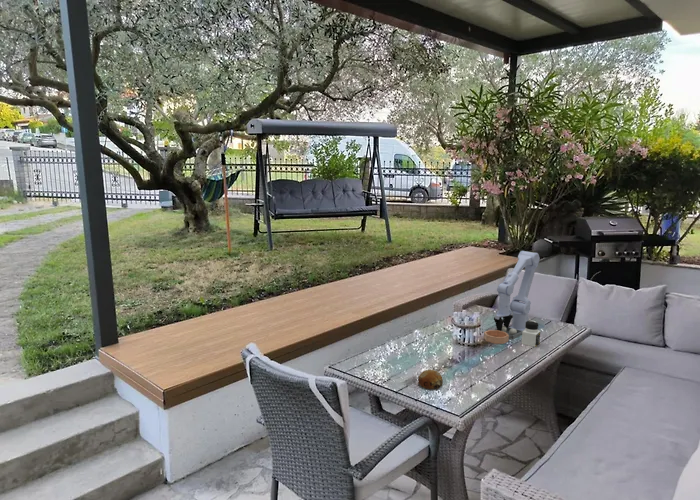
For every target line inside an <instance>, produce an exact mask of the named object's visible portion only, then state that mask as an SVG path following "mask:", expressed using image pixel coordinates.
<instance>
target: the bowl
mask: <svg viewBox="0 0 700 500" xmlns="http://www.w3.org/2000/svg"><path fill="white" fill-rule="evenodd" d="M483 340H484V341H485V342H488V343H492V344H497V345H498V344H499V345H500V344H501V345H502V344H503V345H504V344H506V343H508V342H509V340H510V339H509V335H508V334H507V333H506V332H503V331H499V330H495V329H487V330H486V331H484V332H483Z"/></svg>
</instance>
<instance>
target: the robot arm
mask: <svg viewBox="0 0 700 500" xmlns="http://www.w3.org/2000/svg"><path fill="white" fill-rule="evenodd" d="M540 259H541V258H540V255H539V253H538V252H531V251H528V250H527V251H525V250H521V251H520V252H519V253H518V255H517V262H516V264H515V266H514V267H513V270H512V271H511V272H509V273H508V274H507V276H506V277H505V279H504V280H503V282H501V283H499V284H498V286H497V293H498V310H497V311H496V312H495V313H496V314H495V316H494V317H493V320H494V323H495V326H496V329H497V330H499V331H501V330H502V326H505V327H506V328H508V327H510V328H514V329H517V330H521V331H524V330H525V326H526V322H527V321H529V313H530V311H531V305H532V302H531V300H530V299H529V298H528V297H529V293H530V290H531V287H532V283H533V279H534V276H535V272H536V269H538V266H539V263H540ZM523 269H524V272H523V273H524V274H523V276H522V279H521V283H520V287H519V289H518V290H519V291H518V294H517V295H516V296H514V297H512V300H511V296H512V294H513V293H514V289H515V285H516V284H517V282H518V280H519V275H520V273H521V272H522V270H523ZM510 324H511V325H510Z"/></svg>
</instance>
